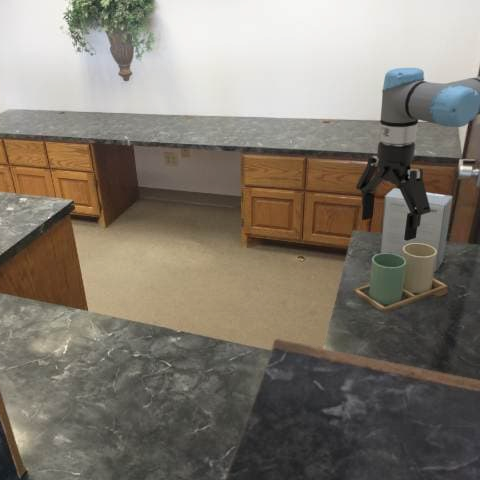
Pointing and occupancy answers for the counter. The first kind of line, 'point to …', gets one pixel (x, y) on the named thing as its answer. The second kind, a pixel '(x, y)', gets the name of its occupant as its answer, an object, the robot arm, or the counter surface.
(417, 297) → the cup holder
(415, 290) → the cream cup
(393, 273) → the green cup
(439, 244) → the hard drive box
